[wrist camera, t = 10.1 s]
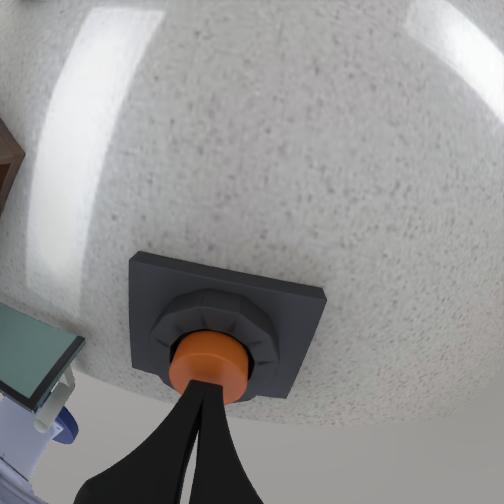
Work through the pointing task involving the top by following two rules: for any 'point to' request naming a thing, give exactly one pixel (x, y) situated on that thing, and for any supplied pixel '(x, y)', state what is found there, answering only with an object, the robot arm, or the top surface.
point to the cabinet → (8, 162)
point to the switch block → (221, 318)
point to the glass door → (36, 364)
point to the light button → (211, 363)
